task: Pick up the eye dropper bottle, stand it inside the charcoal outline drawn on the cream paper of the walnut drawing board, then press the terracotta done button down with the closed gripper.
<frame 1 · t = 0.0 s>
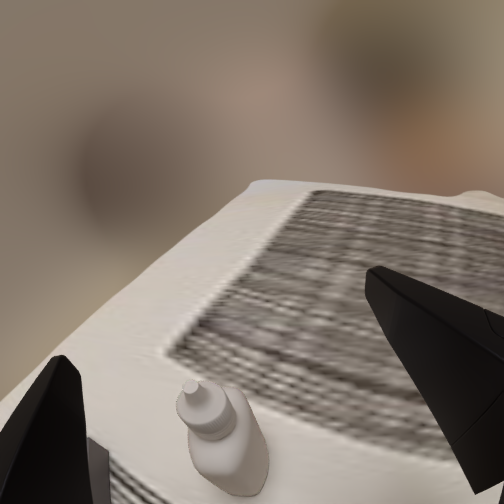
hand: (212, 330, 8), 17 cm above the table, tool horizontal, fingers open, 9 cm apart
eye dropper bottle: (246, 464, 18), on the table
done button housing: (81, 481, 16), on the table
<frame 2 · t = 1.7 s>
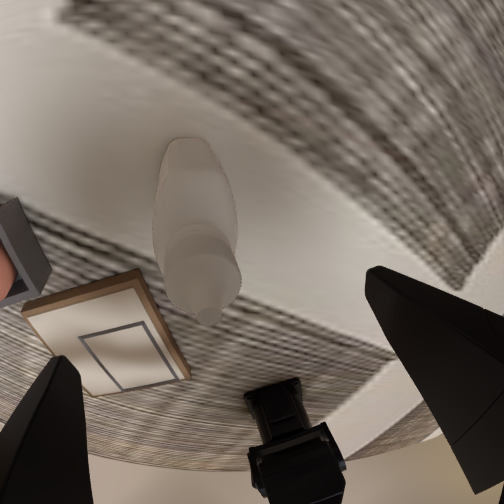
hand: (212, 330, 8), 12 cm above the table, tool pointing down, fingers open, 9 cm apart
eye dropper bottle: (186, 180, 18), on the table
drawing board: (109, 341, 23), on the table
done button housing: (6, 247, 17), on the table
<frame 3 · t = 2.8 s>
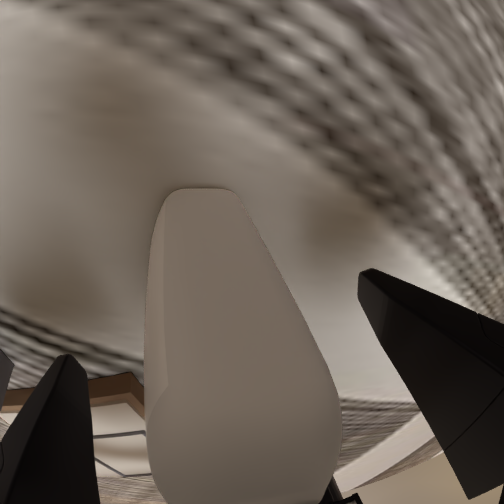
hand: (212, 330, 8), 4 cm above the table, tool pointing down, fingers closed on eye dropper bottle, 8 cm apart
eye dropper bottle: (198, 256, 11), on the table, touching gripper
drawing board: (102, 434, 16), on the table
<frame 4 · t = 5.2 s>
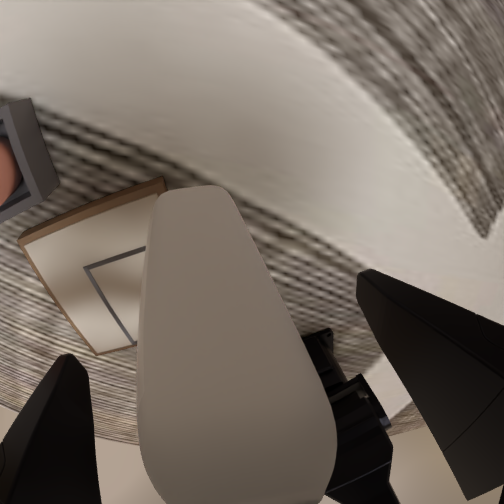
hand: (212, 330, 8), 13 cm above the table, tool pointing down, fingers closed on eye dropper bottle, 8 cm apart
eye dropper bottle: (198, 255, 11), point 9 cm above the table, touching gripper
drawing board: (119, 277, 20), on the table
done button housing: (9, 160, 14), on the table
when the fingers open (6 cm above the table, at t = 7.8 s): eye dropper bottle stays where it is, resting on drawing board.
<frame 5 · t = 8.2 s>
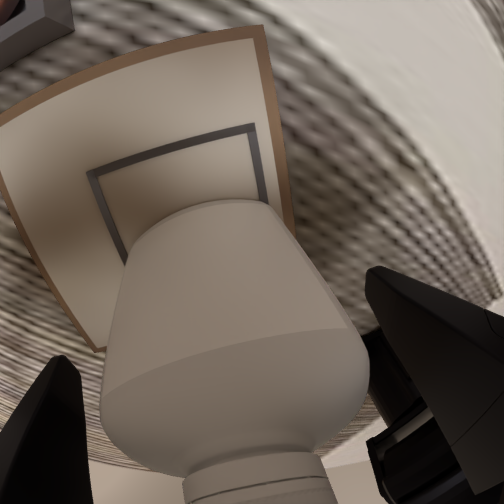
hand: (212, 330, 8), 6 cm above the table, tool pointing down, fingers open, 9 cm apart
eye dropper bottle: (204, 241, 12), point 1 cm above the table, touching drawing board
drawing board: (149, 206, 12), on the table
done button housing: (4, 7, 5), on the table
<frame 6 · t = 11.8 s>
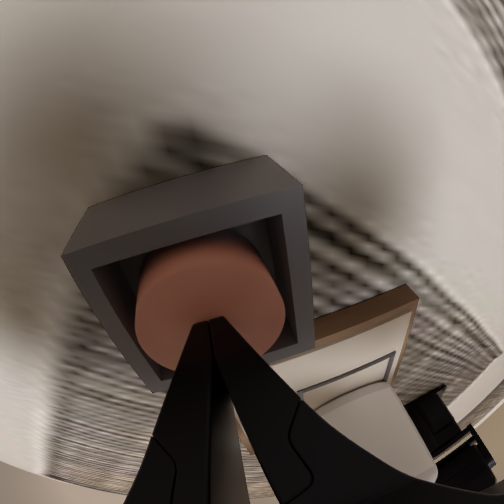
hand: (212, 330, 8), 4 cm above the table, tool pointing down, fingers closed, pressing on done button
eye dropper bottle: (347, 400, 17), point 1 cm above the table, touching drawing board
drawing board: (314, 384, 17), on the table
done button housing: (198, 257, 11), on the table
done button: (206, 305, 9), point 3 cm above the table, slide at 0.2 cm, touching gripper
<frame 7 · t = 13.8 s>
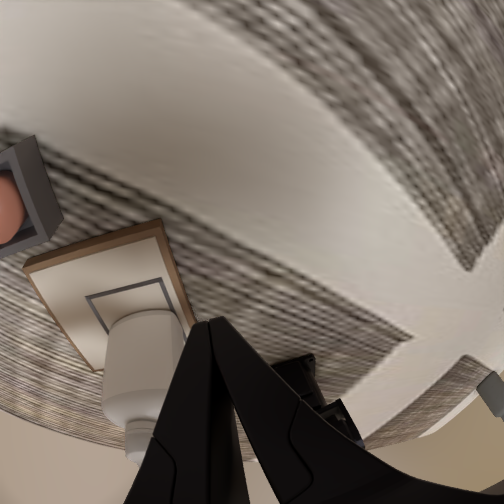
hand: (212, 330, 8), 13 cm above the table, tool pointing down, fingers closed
eye dropper bottle: (145, 324, 22), point 1 cm above the table, touching drawing board
drawing board: (118, 304, 22), on the table
done button housing: (14, 192, 15), on the table
water bottle: (485, 379, 76), on the table
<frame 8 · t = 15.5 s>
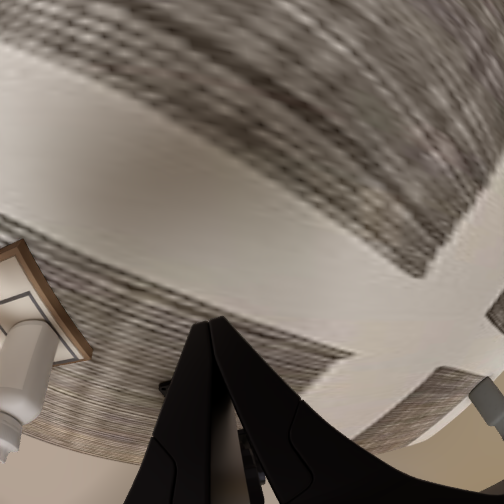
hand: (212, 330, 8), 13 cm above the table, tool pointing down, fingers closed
eye dropper bottle: (33, 333, 20), point 1 cm above the table, touching drawing board
drawing board: (15, 314, 20), on the table
water bottle: (478, 385, 71), on the table
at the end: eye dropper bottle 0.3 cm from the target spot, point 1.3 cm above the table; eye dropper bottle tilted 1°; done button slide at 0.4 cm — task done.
